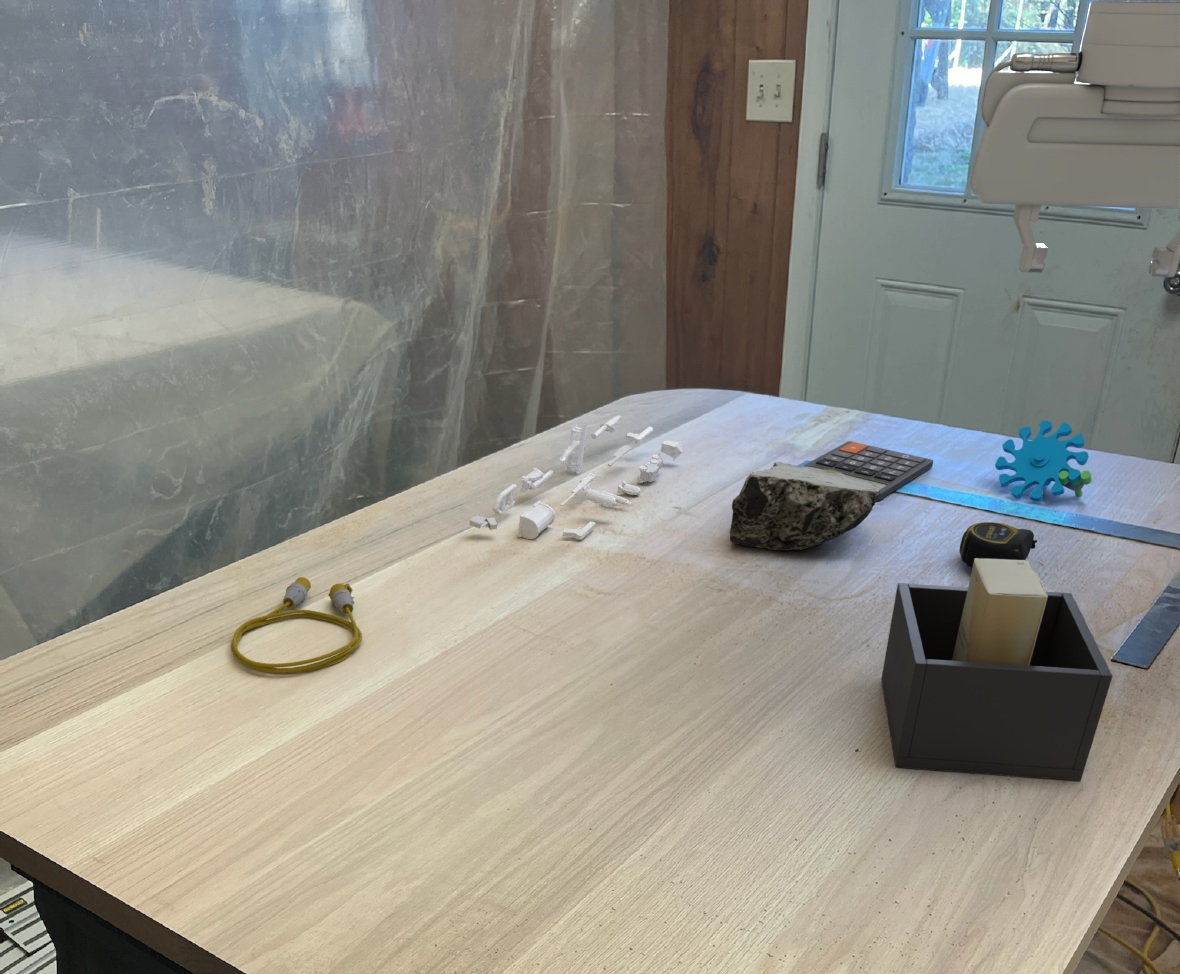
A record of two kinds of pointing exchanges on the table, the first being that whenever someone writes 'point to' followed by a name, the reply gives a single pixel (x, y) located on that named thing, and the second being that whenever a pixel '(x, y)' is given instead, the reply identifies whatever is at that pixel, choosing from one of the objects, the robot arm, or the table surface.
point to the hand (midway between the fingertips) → (1095, 273)
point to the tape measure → (995, 542)
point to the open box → (991, 692)
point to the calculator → (873, 465)
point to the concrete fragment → (798, 507)
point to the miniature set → (544, 514)
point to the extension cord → (293, 598)
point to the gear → (1044, 462)
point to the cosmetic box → (1001, 613)
